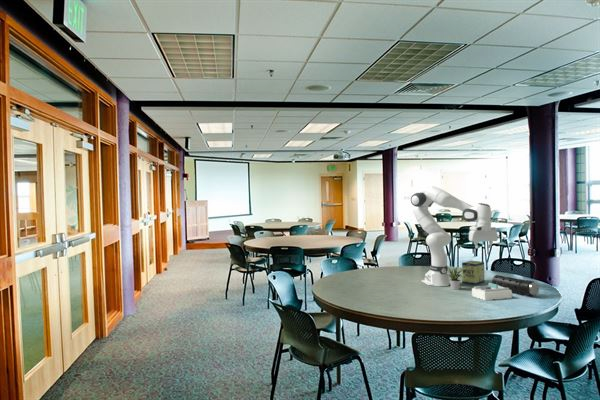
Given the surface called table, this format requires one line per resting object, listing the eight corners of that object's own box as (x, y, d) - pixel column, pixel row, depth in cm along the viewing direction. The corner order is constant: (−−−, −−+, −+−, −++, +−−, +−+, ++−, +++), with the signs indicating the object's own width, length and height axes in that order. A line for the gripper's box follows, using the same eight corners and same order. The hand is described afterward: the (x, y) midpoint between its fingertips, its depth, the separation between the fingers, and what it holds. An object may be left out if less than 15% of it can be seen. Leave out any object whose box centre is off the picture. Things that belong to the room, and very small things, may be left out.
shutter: (488, 287, 254) (488, 282, 254) (498, 286, 255) (498, 282, 255) (496, 290, 247) (496, 285, 247) (506, 289, 249) (506, 284, 249)
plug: (481, 295, 250) (481, 286, 250) (486, 294, 251) (486, 285, 251) (485, 296, 246) (485, 287, 246) (491, 296, 247) (491, 287, 247)
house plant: (469, 292, 264) (468, 268, 264) (447, 291, 267) (447, 267, 267) (464, 287, 278) (464, 264, 278) (444, 286, 281) (443, 264, 281)
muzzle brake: (501, 288, 274) (500, 273, 274) (540, 297, 249) (539, 281, 249) (491, 289, 270) (491, 275, 270) (530, 298, 244) (530, 282, 244)
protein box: (461, 283, 292) (461, 262, 292) (471, 280, 302) (471, 260, 302) (475, 285, 284) (475, 264, 284) (484, 282, 294) (484, 261, 294)
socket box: (472, 295, 253) (471, 286, 253) (497, 293, 258) (497, 284, 258) (485, 300, 242) (484, 290, 242) (511, 298, 247) (511, 288, 247)
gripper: (493, 226, 265) (493, 246, 265) (467, 227, 260) (467, 247, 261) (500, 227, 259) (499, 248, 259) (473, 228, 254) (473, 249, 254)
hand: (483, 248), depth 260 cm, fingers open, 8 cm apart
